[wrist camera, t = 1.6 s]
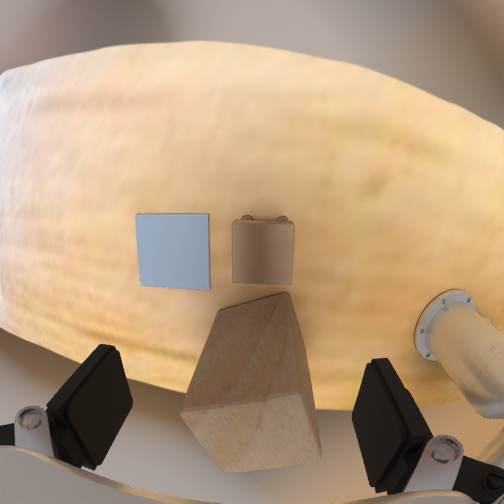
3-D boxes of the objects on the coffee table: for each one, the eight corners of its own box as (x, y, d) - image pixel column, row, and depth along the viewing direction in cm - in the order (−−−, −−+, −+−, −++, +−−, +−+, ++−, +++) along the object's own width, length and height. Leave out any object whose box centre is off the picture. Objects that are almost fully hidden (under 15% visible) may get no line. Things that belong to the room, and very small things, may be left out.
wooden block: (241, 365, 41) (222, 474, 22) (217, 309, 39) (176, 412, 20) (305, 350, 40) (323, 461, 21) (288, 290, 38) (300, 392, 19)
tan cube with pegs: (289, 215, 35) (294, 225, 28) (287, 262, 37) (291, 284, 29) (240, 214, 36) (232, 224, 28) (240, 261, 37) (232, 282, 30)
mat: (208, 213, 36) (207, 214, 35) (210, 288, 38) (209, 290, 38) (137, 214, 37) (135, 214, 36) (142, 284, 39) (141, 285, 38)
